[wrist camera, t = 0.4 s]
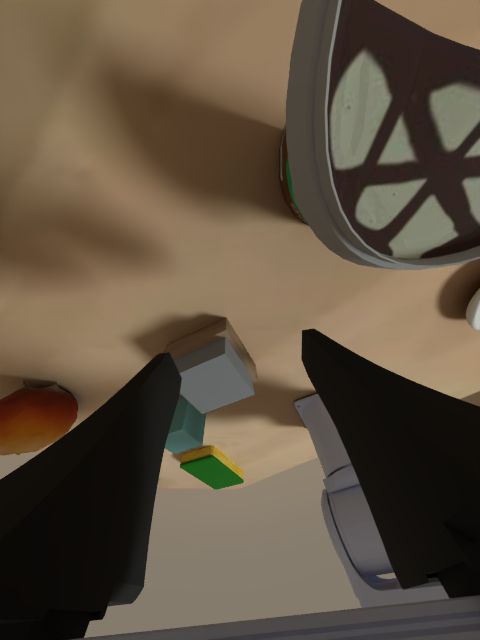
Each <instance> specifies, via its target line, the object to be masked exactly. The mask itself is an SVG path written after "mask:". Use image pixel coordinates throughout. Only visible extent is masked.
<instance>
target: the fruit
mask: <svg viewBox="0 0 480 640" xmlns="http://www.w3.org/2000/svg"><path fill="white" fill-rule="evenodd" d="M56 383H57V382H56ZM56 383H55V384H53V385H51V386H48V387H43V388H33V387H29V386H28V385H26V383H25V381H23V385H24V387H23V388H21V389H20V390H18V391H15V392H14V393H12V394H10V395H8V396H7V397H5V398H3V399H1V400H0V455H9V454H17V455H19V454H21V453H28V452H35V451H38V450H40V449H42V448H44V447H46V446H47V445H49V444H51V443H53V442H55V441H57V440H59V439H60V438H62V437H63V436H64V435H65V434H66V433H67V432H68V431H69V429H70V428H71V426H72V425H73V423H74V422H75V420H76V419H77V411H78V404H77V401H76V399H75V398H74V397H73V395H72V394H71V393H69V392H66V391H64V390H62V389H61V388H59V387H58V386H57V384H56Z"/></svg>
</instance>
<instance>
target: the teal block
mask: <svg viewBox="0 0 480 640" xmlns="http://www.w3.org/2000/svg"><path fill="white" fill-rule="evenodd" d="M205 418H206V413H204V414H202V413H201V412H200V411H198V410H197V409H196V408H195V407H194V406H193V405H192V404H191V403H190V402H189V401H188V400H187V399H186V398H185V397H180V398H179V399H178V402H177V406H176V409H175V413H174V416H173V420H172V423H171V427H170V430H169V433H168V437H167V440H166V444H165V448H166V449H167V450H169V451H170V452H172V453H173V454H176V453H179V452H182V451H186V450H189V449H192V448H195V447H198V446H201V445H202V444H203V435H204V427H205Z"/></svg>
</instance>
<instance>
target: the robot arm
mask: <svg viewBox="0 0 480 640" xmlns="http://www.w3.org/2000/svg"><path fill="white" fill-rule="evenodd" d="M302 362H303V364H304V367H305V369H306V372H307V374H308V377H309V378H310V380H311V382H312V384H313V386H314V388H315V390H316V391H317V393H318V394H315V395H312V396H309V397H306V398H303V399H300V400H297V401H295V402H294V405H295V407H296V409H297V411H298V413H299V415H300V416H301V418H302V420H303V422H304V424H305V426H306V428H307V429H308V431H309V433H310V436H311V439H312V441H313V444H314V447H315V449H316V452H317V455H318V457H319V460H320V462H321V465H322V468H323V471H324V473H325V476H326V479H323V481H324V484H325V487H326V489H324V490H323V491H322V498H321V506H322V512H323V516H324V520H325V523H326V526H327V529H328V532H329V535H330V538H331V540H332V543H333V545H334V548H335V550H336V552H337V554H338V556H339V558H340V560H341V562H342V564H343V566H344V568H345V570H346V573H347V575H348V578H349V580H350V583H351V585H352V588H353V591H354V593H355V595H356V597H357V599H358V600H359V602H360V605H361V607H362V608H357V609H348V610H340V611H331V612H321V613H311V614H302V615H293V616H283V617H274V618H266V619H256V620H247V621H238V622H228V623H219V624H209V625H200V626H191V627H182V628H173V629H163V630H154V631H146V632H135V633H126V634H117V635H108V636H99V637H89V638H84V636H85V633H86V630H87V627H88V624H89V621H93V620H102V619H103V617H104V616H105V613H106V610H107V607H108V606H114V605H123V604H131V603H133V602H134V601H135V600H136V598H137V597H138V595H139V594H140V592H141V591H142V589H143V587H144V579H145V569H146V561H147V552H148V544H149V535H150V529H151V522H152V515H153V508H154V502H155V495H156V490H157V484H158V478H159V473H160V468H161V463H162V457H163V452H164V448H165V444H166V440H167V437H168V433H169V430H170V427H171V423H172V420H173V416H174V413H175V409H176V406H177V402H178V399H179V394H180V388H181V381H182V377H181V375H180V373H179V371H178V369H177V367H176V365H175V363H174V360H173V358H172V356H171V354H170V352H167V353H161V354H158V355H157V356H156V357H154V358H153V359H152V360H151V361H150V362H149V363H148V364H147V365H146V366H145V367H144V368H143V369H142V370H141V371H140V372H139V373H137V374H136V375H135V376H134V377H133V378H132V379H131V380H130V381H129V382H128V383H127V384H126V385H125V386H124V387H123V388H122V389H120V390H119V391H118V392H117V393H116V394H115V395H114V396H113V397H111V398H110V399H109V400H108V401H107V402H106V403H105V404H104V405H102V406H101V407H100V408H99V409H98V410H96V411H95V412H94V413H93V414H92V415H90V416H89V417H88V418H87V419H85V420H84V421H83V422H81V423H80V424H79V425H78V426H76V427H75V428H74V429H72V430H71V431H70V432H68V433H67V434H66V435H64V436H63V437H62V438H60V439H59V440H57V441H56V442H55V443H53V444H52V445H50V446H49V447H48V448H46V449H45V450H44V451H42V452H41V453H39V454H38V455H37V456H35V457H34V458H32V459H31V460H29V461H28V462H26V463H25V464H24V465H22V466H20V467H19V468H17V469H16V470H14V471H13V472H11V473H10V474H8V475H7V476H5V477H4V478H2V479H1V480H0V640H480V407H479V406H476V405H473V404H471V403H468V402H465V401H462V400H460V399H457V398H454V397H451V396H449V395H446V394H443V393H441V392H438V391H436V390H433V389H431V388H428V387H426V386H423V385H421V384H418V383H416V382H413V381H411V380H409V379H406V378H404V377H402V376H400V375H398V374H395V373H393V372H391V371H389V370H387V369H385V368H382V367H380V366H378V365H376V364H374V363H373V362H371V361H369V360H367V359H365V358H363V357H361V356H359V355H357V354H356V353H354V352H352V351H350V350H349V349H347V348H345V347H343V346H342V345H340V344H338V343H337V342H335V341H334V340H332V339H330V338H329V337H327V336H325V335H324V334H322V333H321V332H319V331H317V330H315V329H308V330H302ZM387 573H395V575H396V577H397V578H393V579H383V578H380V577H378V576H376V575H381V574H387Z"/></svg>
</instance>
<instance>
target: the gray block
mask: <svg viewBox="0 0 480 640" xmlns="http://www.w3.org/2000/svg"><path fill="white" fill-rule="evenodd" d="M174 363H175V365H176V367H177V369H178V371H179V373H180V375H181V377H182V381H181V388H180V394H181V395H182V396H183V397H185V398H186V399H187V400H188V401H189V402H190V403H191V404H192V405H193V406H194V407H195V408H196V409H197V410H198V411H200V412H201V413H202V414H204V413H207V412H210V411H212V410H215V409H218V408H220V407H223V406H226V405H228V404H231V403H234V402H237V401H239V400H242V399H245V398H247V397H250V396H253V395H255V393H254V387H253V380H252V376H251V374H250V373H249V371H248V370H247V368H246V367H245V365H244V364H243V362H242V361H241V360H240V358H239V357H238V355H237V354H236V352H235V351H234V349H233V348H232V346H231V345H230V343H229V342H228V340H227V339H226V337H225V338H223V339H220V340H218V341H216V342H214V343H211V344H209V345H207V346H205V347H202V348H200V349H198V350H196V351H194V352H191V353H189V354H187V355H185V356H182V357H180V358H178V359H176V360H174Z"/></svg>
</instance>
